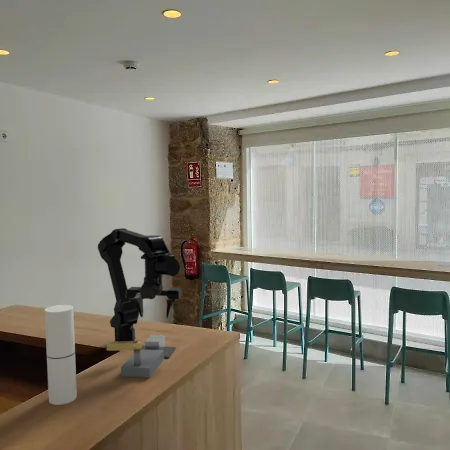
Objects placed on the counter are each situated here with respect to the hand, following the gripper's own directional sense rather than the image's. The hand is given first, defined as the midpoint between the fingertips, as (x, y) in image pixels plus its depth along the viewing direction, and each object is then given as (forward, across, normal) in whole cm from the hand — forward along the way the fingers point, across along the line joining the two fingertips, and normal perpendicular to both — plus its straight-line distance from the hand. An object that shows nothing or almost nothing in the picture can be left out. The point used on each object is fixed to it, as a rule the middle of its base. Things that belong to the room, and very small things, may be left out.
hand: (154, 317), depth 152 cm
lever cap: (+12, 0, 0) cm, 12 cm away
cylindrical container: (+13, -15, -36) cm, 41 cm away
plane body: (+12, 0, -12) cm, 18 cm away
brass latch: (+5, -4, -18) cm, 19 cm away
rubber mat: (+12, 0, 0) cm, 12 cm away
